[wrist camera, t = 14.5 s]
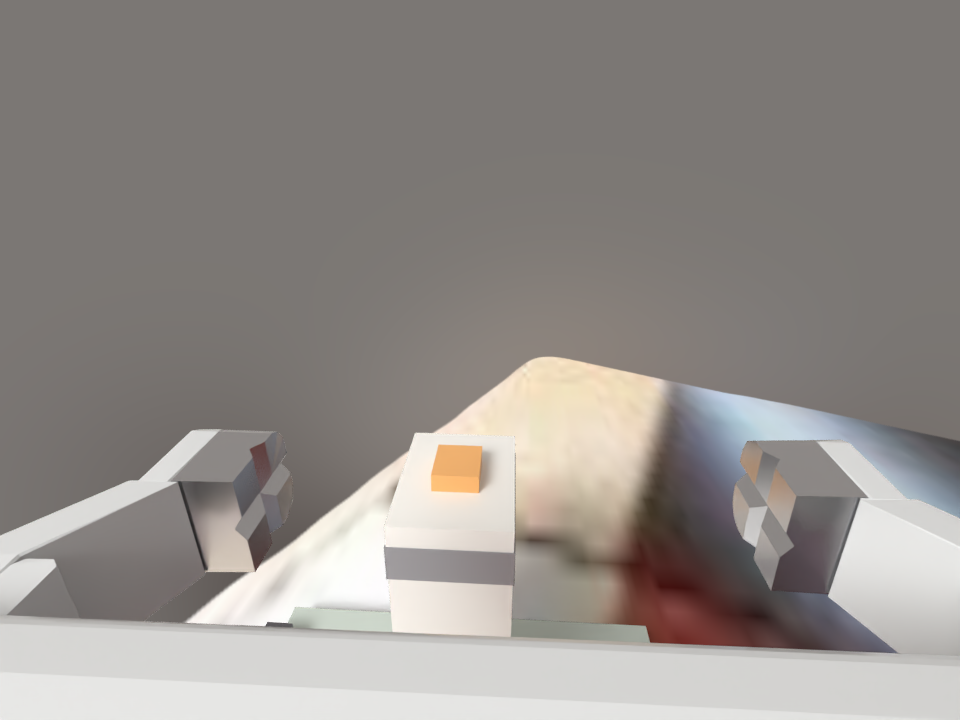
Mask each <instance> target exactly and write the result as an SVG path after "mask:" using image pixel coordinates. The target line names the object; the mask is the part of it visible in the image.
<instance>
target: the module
mask: <svg viewBox="0 0 960 720" xmlns="http://www.w3.org/2000/svg"><path fill="white" fill-rule="evenodd" d="M384 535H385V546H384V554H385V566H386V578H387V579H388V583H389V596H390V608H391V620H392V632H406V633H429V634H452V635H477V636H501V637H511V621H512V593H513V586H514V573H515V436H492V435H463V434H435V433H415V435H414V439H413V441H412V444H411V447H410V450H409V453H408V456H407V459H406V462H405V465H404V468H403V471H402V474H401V477H400V480H399V483H398V486H397V489H396V492H395V495H394V498H393V501H392V504H391V507H390V509H389V512H388V515H387V518H386V521H385V524H384Z"/></svg>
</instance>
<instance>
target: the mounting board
mask: <svg viewBox="0 0 960 720" xmlns="http://www.w3.org/2000/svg"><path fill="white" fill-rule="evenodd" d="M288 623H292V624H293V628H313V629H336V630H360V631H383V632H392V620H391V612H377V611H359V610H340V609H322V608H303V607H295V609H294V611H293V613H292V615H291V617H290V620H289V622H288ZM511 637H526V638H550V639H575V640H598V641H621V642H644V643H650V640H649V637H648V633H647V629H646V626H636V625H618V624H599V623H581V622H562V621H544V620H525V619H512V621H511Z"/></svg>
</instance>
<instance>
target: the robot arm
mask: <svg viewBox="0 0 960 720" xmlns="http://www.w3.org/2000/svg"><path fill="white" fill-rule="evenodd" d="M286 453H287V452H286V448H285V443H284V439H283V437H282V436H281V435H280V434H279V433H278V432H270V431H269V432H268V431H243V430H221V429H212V430H211V429H204V430H203V429H200V430H194V431H191V432H190V433H189V434H188V435H187V436H186V437H185V438H183V440H181V441H180V442H179V443H178V444H177V445H176V446H175V447H174V448H173V449H172V450H171V451H170V452H169V453H167V455H165V456H164V457H163V458H162V459H161V460H160V461H159V462H158V463H157V464H156V465H155V466H154V467H153V468H152V469H150V470H149V472H147V473H146V474H145V475H144V476H143V477H142V478H141V479H140V480H139V481H128V482H125V483H123V484H121V485H118V486H116V487H114V488H111V489H109V490H107V491H104V492H102V493H99V494H97V495H95V496H92V497H90V498H88V499H86V500H83V501H81V502H79V503H76V504H74V505H71V506H69V507H67V508H64V509H62V510H60V511H57V512H55V513H53V514H50V515H48V516H46V517H43V518H41V519H38V520H36V521H34V522H31V523H29V524H27V525H25V526H22V527H20V528H18V529H15V530H13V531H10V532H8V533H6V534H3V535H1V536H0V720H960V518H958V517H956V516H954V515H951V514H949V513H947V512H945V511H942V510H940V509H938V508H936V507H934V506H931V505H929V504H927V503H925V502H922V501H920V500H911V499H907V498H906V497H905V496H904V495H903V494H902V493H901V492H900V491H899V490H897V489H896V488H895V487H894V486H893V485H892V484H891V483H890V482H889V481H888V480H887V479H886V478H885V477H884V476H883V475H882V474H881V473H880V472H879V471H878V470H877V469H876V468H875V467H874V466H873V465H872V464H871V463H870V462H869V461H867V460H866V459H865V458H864V457H863V456H862V455H861V454H860V453H859V452H858V451H857V450H856V449H855V448H854V447H853V446H852V445H851V444H850V443H848V442H845V441H843V440H807V441H747V443H746V444H745V446H744V448H743V451H742V455H741V459H740V463H741V464H742V466H743V467H744V469H745V471H746V472H747V473H746V474H745V475H744V476H743V477H742V478H741V479H740V480H739V481H738V482H737V483H735V489H734V495H733V512H734V518H735V522H736V525H737V528H738V530H739V532H740V534H741V536H742V538H743V539H744V540H746V541H747V542H749V543H750V544H752V545H753V546H755V547H756V550H755V555H754V560H755V562H756V564H757V566H758V568H759V569H760V571H761V573H762V575H763V577H764V579H765V580H766V582H767V584H768V586H769V588H770V590H771V591H786V592H803V593H819V594H829V595H828V597H829V598H830V599H832V600H833V601H834V602H835V603H837V604H838V605H839V606H840V607H842V608H843V609H844V610H845V611H847V612H848V613H849V614H850V615H852V616H853V617H854V618H855V619H857V620H858V621H859V622H860V623H862V624H863V625H864V626H865V627H867V628H868V629H869V630H870V631H872V632H873V633H874V634H875V635H876V636H878V637H879V638H880V639H881V640H883V641H884V642H885V643H886V644H888V645H889V646H890V647H891V648H893V649H894V650H895V651H896V652H898V653H875V652H852V651H829V650H806V649H783V648H760V647H737V646H714V645H691V644H668V643H644V642H621V641H598V640H575V639H550V638H526V637H501V636H477V635H452V634H429V633H406V632H383V631H360V630H336V629H313V628H290V627H267V626H244V625H220V624H197V623H173V622H151V621H145V620H146V619H147V618H148V617H150V616H151V615H152V614H154V613H155V612H156V611H158V610H159V609H160V608H161V607H163V606H164V605H166V604H167V603H168V602H170V601H171V600H172V599H174V598H175V597H176V596H177V595H179V594H180V593H181V592H183V591H184V590H185V589H187V588H188V587H189V586H191V585H192V584H193V583H195V582H196V581H197V580H199V579H200V578H201V577H203V576H204V575H205V572H256V570H257V568H258V566H259V565H260V563H261V561H262V560H263V558H264V556H265V554H266V553H267V551H268V550H269V548H270V546H271V544H272V540H271V535H270V533H271V532H273V531H274V530H276V529H277V528H279V527H280V526H282V525H283V524H284V522H285V520H286V518H287V516H288V515H289V512H290V508H291V504H292V500H293V482H292V477H291V473H290V472H289V471H288V470H287V469H286V468H285V467H284V466H283V465H282V464H281V461H282V460H283V458H284V456H285V455H286Z"/></svg>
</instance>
